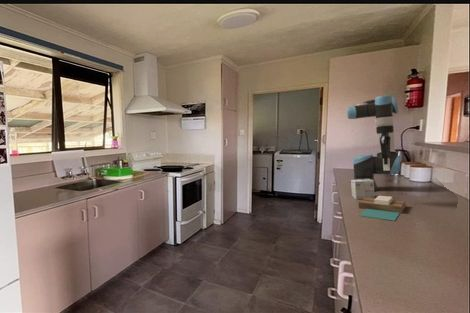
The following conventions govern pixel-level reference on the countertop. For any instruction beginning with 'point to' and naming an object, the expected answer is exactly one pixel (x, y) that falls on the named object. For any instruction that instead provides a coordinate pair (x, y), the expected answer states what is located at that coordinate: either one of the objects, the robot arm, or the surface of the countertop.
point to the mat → (380, 214)
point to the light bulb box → (362, 188)
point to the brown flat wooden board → (392, 207)
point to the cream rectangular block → (383, 200)
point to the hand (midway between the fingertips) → (386, 170)
